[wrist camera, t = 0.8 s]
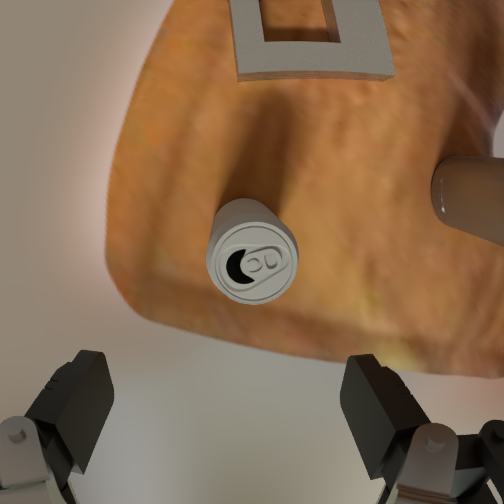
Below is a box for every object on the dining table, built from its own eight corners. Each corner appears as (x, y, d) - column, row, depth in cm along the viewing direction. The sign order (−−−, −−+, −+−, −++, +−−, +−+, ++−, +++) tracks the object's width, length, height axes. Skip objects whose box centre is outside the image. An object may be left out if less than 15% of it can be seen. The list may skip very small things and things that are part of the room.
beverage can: (204, 207, 31) (191, 231, 19) (267, 190, 31) (291, 204, 19) (222, 265, 32) (220, 320, 21) (281, 249, 32) (311, 295, 21)
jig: (359, -17, 24) (369, -28, 22) (382, 81, 28) (395, 75, 25) (225, -23, 24) (225, -37, 21) (237, 82, 27) (238, 73, 25)
